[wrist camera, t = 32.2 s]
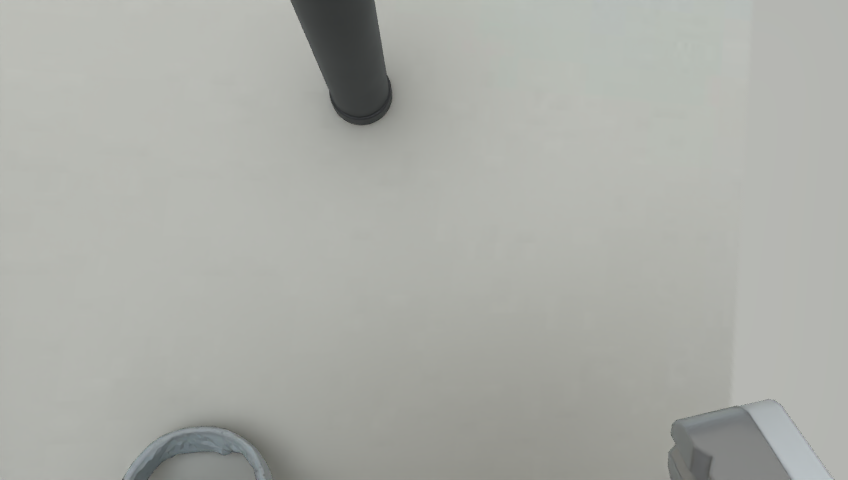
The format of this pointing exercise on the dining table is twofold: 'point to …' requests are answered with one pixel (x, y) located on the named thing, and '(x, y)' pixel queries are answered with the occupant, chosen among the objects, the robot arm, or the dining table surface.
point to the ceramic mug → (196, 450)
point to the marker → (348, 55)
